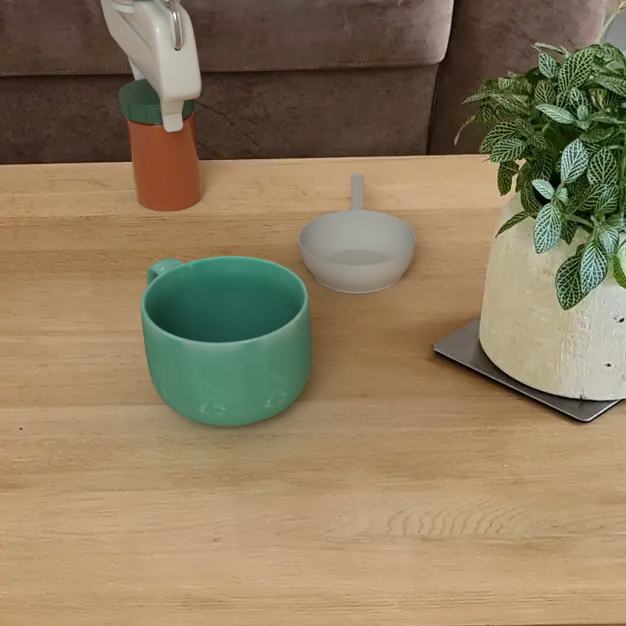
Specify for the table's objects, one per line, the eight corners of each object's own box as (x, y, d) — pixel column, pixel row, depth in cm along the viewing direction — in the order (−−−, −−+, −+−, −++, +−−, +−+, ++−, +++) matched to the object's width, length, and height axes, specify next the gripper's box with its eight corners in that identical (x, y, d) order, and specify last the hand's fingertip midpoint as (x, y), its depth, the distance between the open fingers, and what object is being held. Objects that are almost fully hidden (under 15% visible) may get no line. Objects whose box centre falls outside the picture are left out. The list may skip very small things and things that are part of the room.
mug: (344, 412, 92) (341, 309, 86) (199, 469, 86) (185, 362, 80) (243, 318, 102) (234, 220, 96) (108, 363, 96) (89, 262, 90)
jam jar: (152, 217, 116) (137, 115, 110) (127, 190, 121) (112, 91, 114) (213, 201, 119) (203, 102, 113) (187, 176, 123) (175, 79, 117)
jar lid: (196, 93, 117) (194, 76, 116) (194, 122, 112) (192, 104, 110) (123, 95, 116) (121, 78, 115) (118, 124, 111) (115, 106, 109)
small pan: (297, 300, 105) (295, 262, 102) (305, 208, 119) (303, 173, 116) (417, 299, 105) (418, 262, 103) (410, 208, 119) (411, 173, 117)
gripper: (210, -5, 99) (225, 148, 108) (144, -67, 114) (162, 72, 122) (137, 4, 97) (158, 159, 106) (79, -60, 111) (101, 81, 120)
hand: (159, 112), depth 114 cm, fingers closed on jar lid, 7 cm apart
